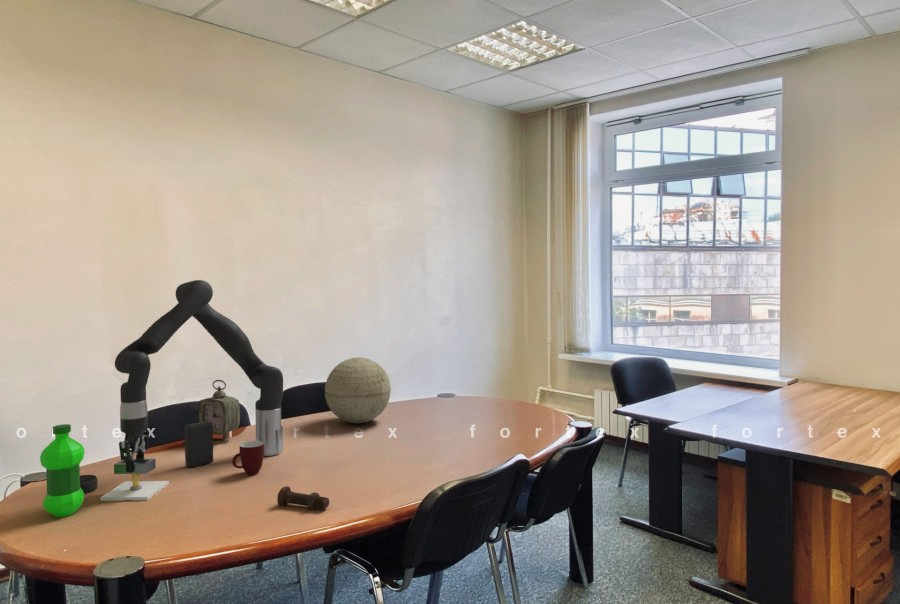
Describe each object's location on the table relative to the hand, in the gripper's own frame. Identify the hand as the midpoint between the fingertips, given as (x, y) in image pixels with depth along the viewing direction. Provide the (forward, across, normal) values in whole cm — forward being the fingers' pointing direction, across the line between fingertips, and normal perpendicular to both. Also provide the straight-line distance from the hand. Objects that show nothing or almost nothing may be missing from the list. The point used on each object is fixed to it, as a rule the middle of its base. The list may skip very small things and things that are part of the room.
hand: (135, 468), depth 183 cm
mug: (+8, +16, -30) cm, 35 cm away
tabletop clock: (+8, +59, -5) cm, 60 cm away
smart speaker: (+8, +2, +18) cm, 20 cm away
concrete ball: (+8, +86, -58) cm, 104 cm away
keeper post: (+7, 0, 0) cm, 7 cm away
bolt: (+8, -14, -55) cm, 58 cm away
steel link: (+1, 0, 0) cm, 1 cm away
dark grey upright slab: (+8, +27, -9) cm, 29 cm away
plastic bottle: (+8, -16, +12) cm, 21 cm away
